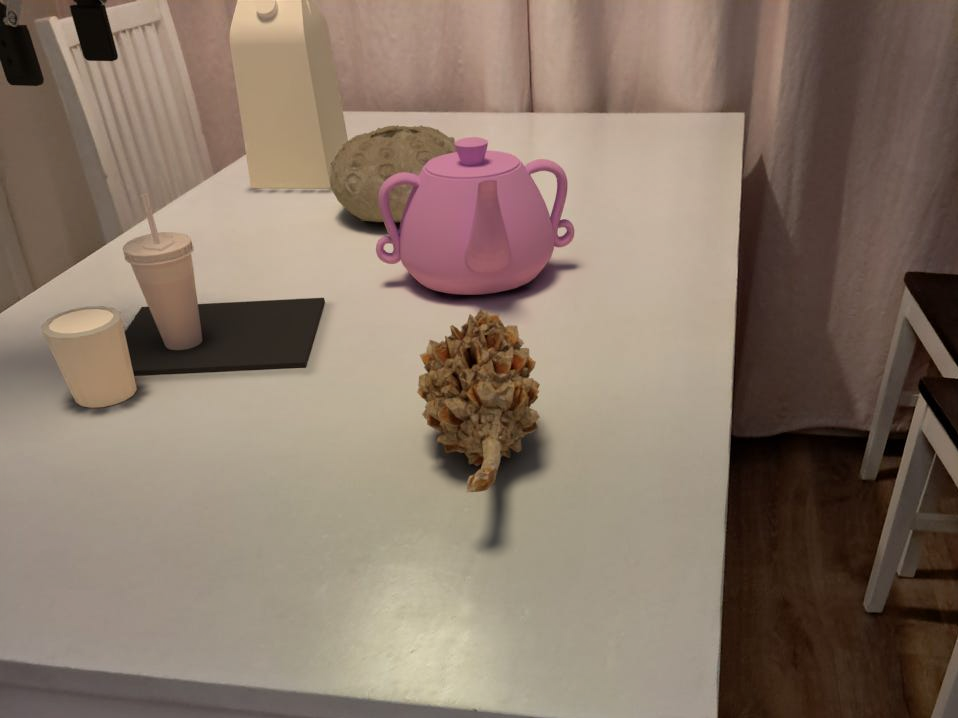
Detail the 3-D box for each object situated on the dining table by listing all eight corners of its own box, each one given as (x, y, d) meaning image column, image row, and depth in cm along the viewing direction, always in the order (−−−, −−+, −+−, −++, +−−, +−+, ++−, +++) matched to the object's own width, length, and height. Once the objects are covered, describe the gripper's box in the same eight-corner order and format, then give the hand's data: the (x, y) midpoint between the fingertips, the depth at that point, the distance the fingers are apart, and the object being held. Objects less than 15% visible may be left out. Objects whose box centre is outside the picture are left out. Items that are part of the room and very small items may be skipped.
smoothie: (156, 361, 89) (111, 209, 80) (146, 337, 94) (102, 190, 85) (222, 347, 91) (185, 196, 82) (208, 324, 96) (172, 178, 86)
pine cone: (417, 408, 81) (406, 296, 74) (526, 398, 81) (524, 285, 75) (435, 557, 64) (423, 429, 58) (571, 543, 65) (574, 414, 58)
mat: (98, 377, 89) (97, 372, 88) (142, 311, 100) (141, 306, 100) (305, 367, 88) (304, 362, 88) (325, 301, 100) (324, 297, 100)
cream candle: (147, 372, 89) (125, 300, 84) (139, 405, 84) (115, 331, 79) (73, 381, 88) (47, 309, 83) (62, 415, 83) (33, 340, 78)
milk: (352, 165, 140) (325, -47, 123) (330, 188, 132) (297, -36, 114) (277, 165, 142) (240, -44, 125) (250, 187, 134) (207, -33, 116)
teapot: (390, 334, 93) (373, 187, 84) (374, 259, 109) (359, 129, 100) (602, 310, 95) (609, 164, 86) (556, 240, 111) (557, 111, 102)
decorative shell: (324, 204, 126) (311, 122, 119) (448, 186, 130) (442, 105, 123) (351, 244, 113) (339, 155, 107) (488, 223, 117) (485, 136, 110)
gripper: (22, -203, 73) (93, 51, 84) (-155, -203, 60) (-45, 94, 72) (102, -209, 70) (162, 52, 82) (-66, -210, 58) (33, 96, 70)
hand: (66, 71), depth 77 cm, fingers open, 9 cm apart
